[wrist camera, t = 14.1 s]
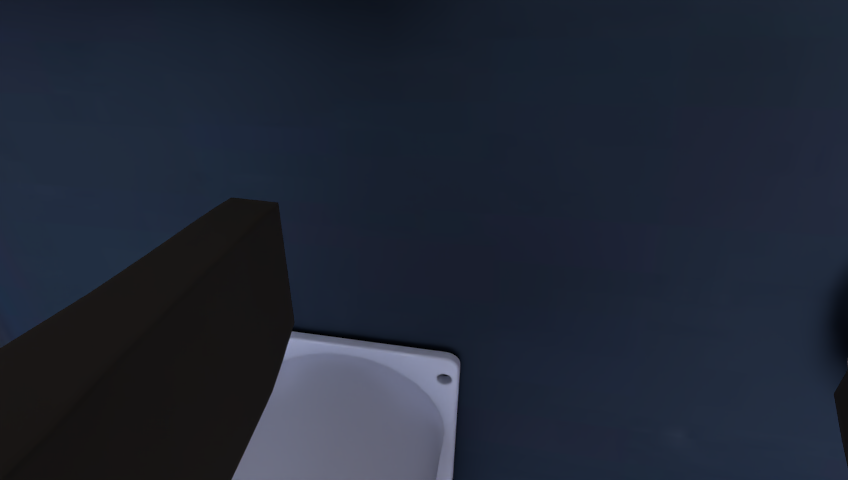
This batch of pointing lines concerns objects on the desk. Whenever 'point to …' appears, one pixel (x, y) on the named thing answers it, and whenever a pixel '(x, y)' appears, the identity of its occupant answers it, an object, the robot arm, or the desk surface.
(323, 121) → the desk surface
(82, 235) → the desk surface
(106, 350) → the robot arm
